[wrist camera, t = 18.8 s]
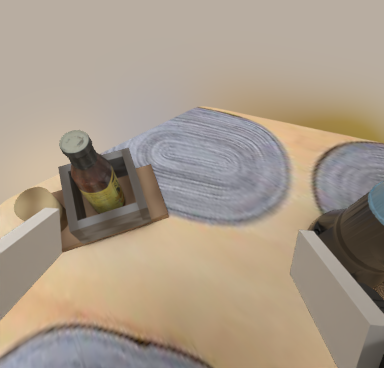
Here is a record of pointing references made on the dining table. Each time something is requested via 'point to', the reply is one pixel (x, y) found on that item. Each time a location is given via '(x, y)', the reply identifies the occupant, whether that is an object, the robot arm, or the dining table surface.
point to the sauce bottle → (92, 172)
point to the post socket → (86, 215)
